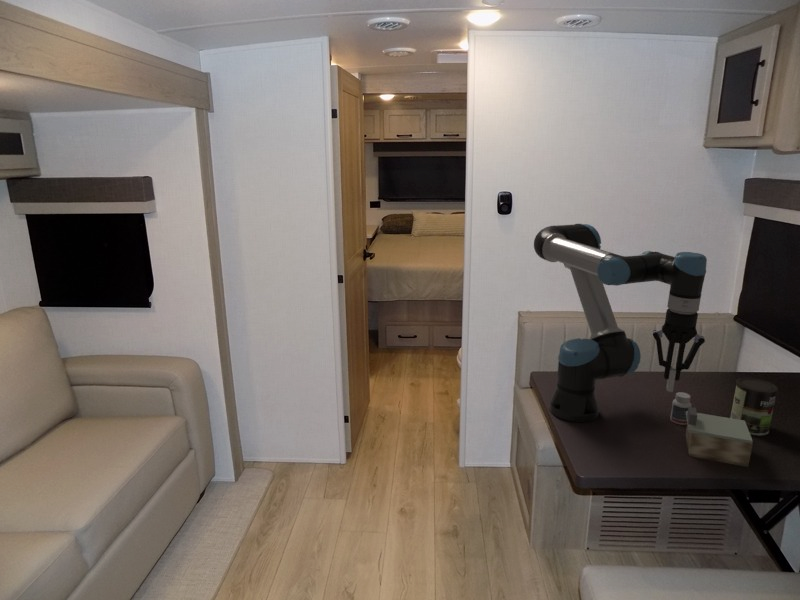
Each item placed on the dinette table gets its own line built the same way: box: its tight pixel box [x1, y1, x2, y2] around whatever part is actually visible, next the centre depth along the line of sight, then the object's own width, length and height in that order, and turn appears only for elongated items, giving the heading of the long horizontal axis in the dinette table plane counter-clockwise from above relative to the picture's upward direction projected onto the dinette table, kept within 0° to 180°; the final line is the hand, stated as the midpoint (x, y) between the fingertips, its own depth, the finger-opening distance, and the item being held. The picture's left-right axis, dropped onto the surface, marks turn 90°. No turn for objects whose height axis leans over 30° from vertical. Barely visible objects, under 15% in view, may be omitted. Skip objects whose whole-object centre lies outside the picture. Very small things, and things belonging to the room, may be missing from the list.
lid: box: [686, 406, 753, 444], centre depth 144 cm, size 15×12×4 cm
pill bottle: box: [669, 391, 692, 426], centre depth 161 cm, size 5×5×9 cm
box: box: [685, 423, 754, 468], centre depth 145 cm, size 14×11×7 cm
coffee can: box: [729, 377, 779, 437], centre depth 157 cm, size 10×10×14 cm
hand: (669, 389), depth 147 cm, fingers closed
